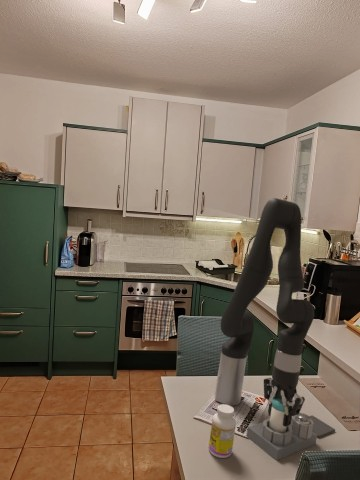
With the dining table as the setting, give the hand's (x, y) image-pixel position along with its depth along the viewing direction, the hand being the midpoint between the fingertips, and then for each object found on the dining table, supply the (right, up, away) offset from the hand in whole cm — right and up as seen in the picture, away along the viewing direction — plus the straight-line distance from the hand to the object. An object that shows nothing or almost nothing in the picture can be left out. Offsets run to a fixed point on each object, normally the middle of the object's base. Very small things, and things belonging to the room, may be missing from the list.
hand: (278, 420), depth 112 cm
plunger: (+8, -5, +4) cm, 10 cm away
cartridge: (-1, -5, 0) cm, 5 cm away
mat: (+16, -9, +13) cm, 22 cm away
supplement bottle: (-18, -6, -5) cm, 20 cm away
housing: (+2, -8, +4) cm, 9 cm away
